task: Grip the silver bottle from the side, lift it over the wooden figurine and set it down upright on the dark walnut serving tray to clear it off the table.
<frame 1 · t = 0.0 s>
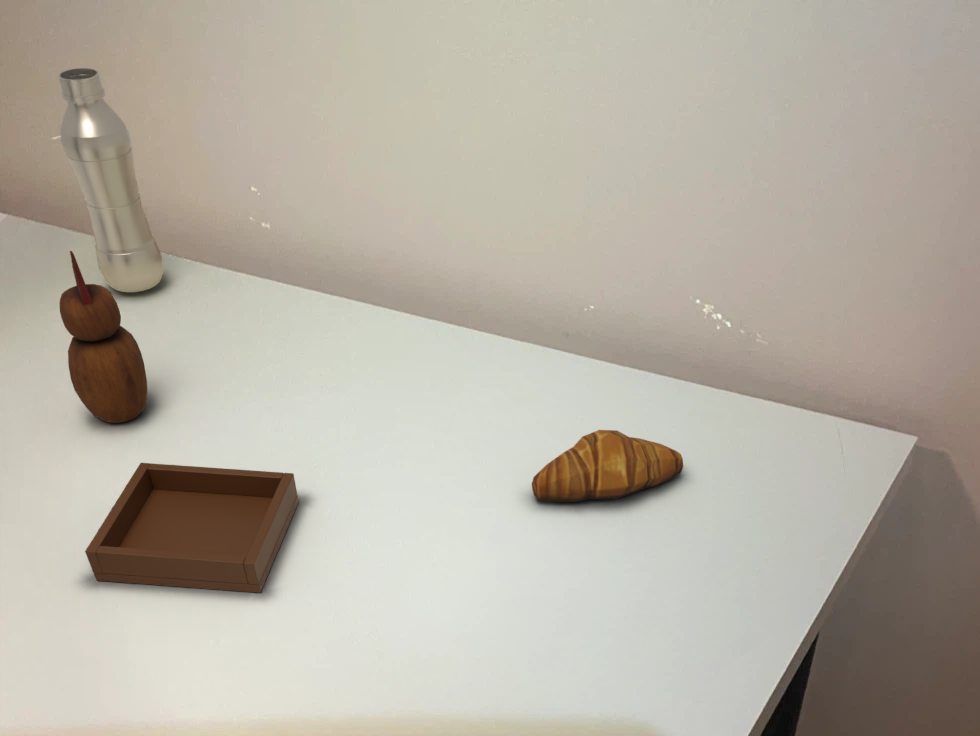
croissant: (606, 488, 86), on the table
silver bottle: (137, 288, 109), on the table
wooden figurine: (122, 413, 93), on the table
tray: (202, 539, 80), on the table
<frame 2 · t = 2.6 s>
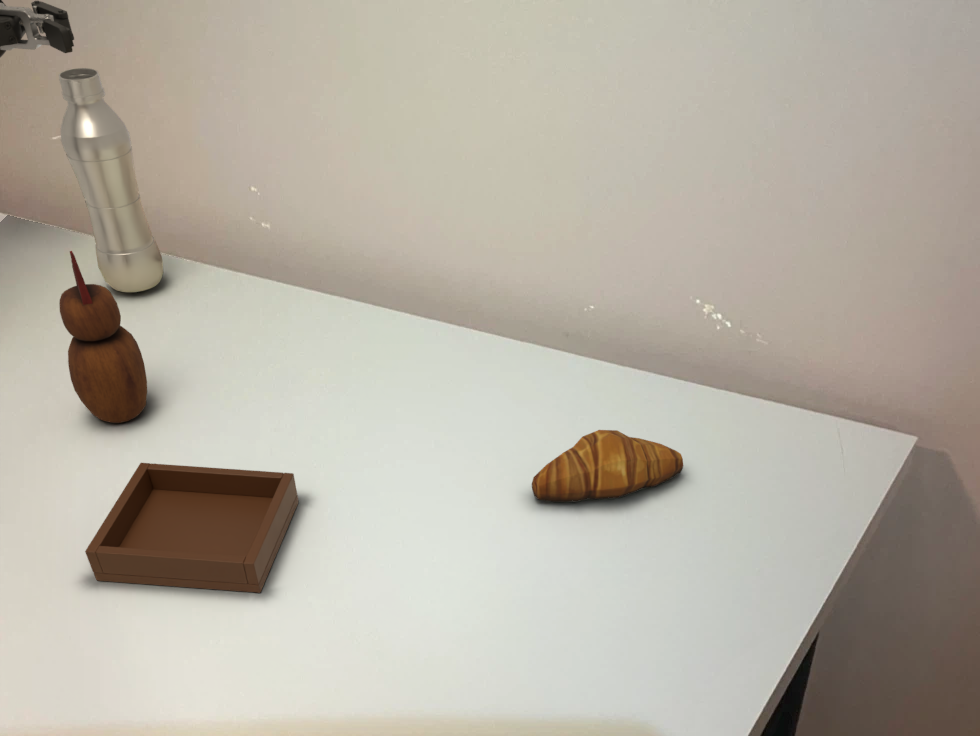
hand: (26, 48, 100), 20 cm above the table, tool horizontal, fingers open, 8 cm apart
nothing on the table moved.
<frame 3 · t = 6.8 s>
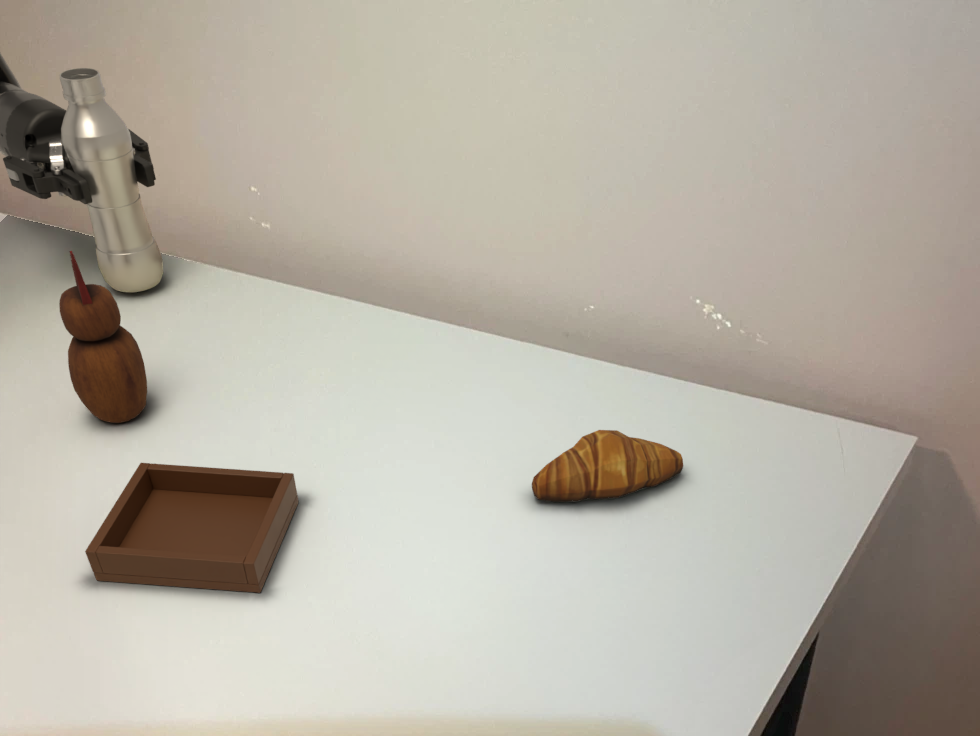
hand: (118, 184, 100), 11 cm above the table, tool horizontal, fingers closed on silver bottle, 6 cm apart
silver bottle: (137, 288, 109), on the table, touching gripper
everything else where it was.
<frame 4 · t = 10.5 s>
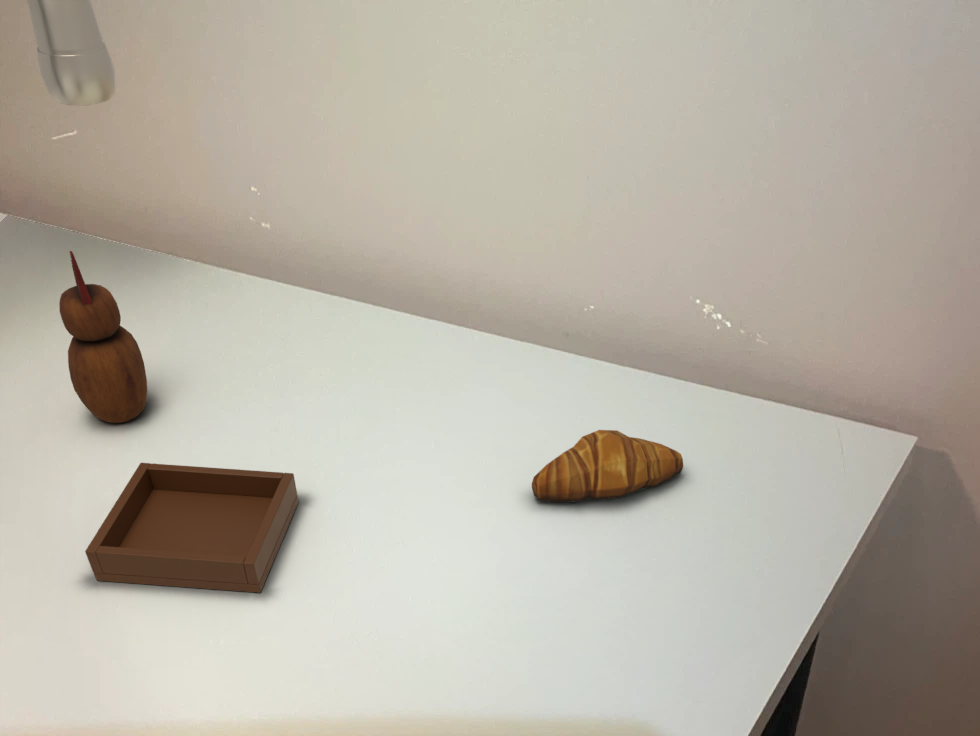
silver bottle: (86, 105, 97), point 17 cm above the table, touching gripper
everything else where it was.
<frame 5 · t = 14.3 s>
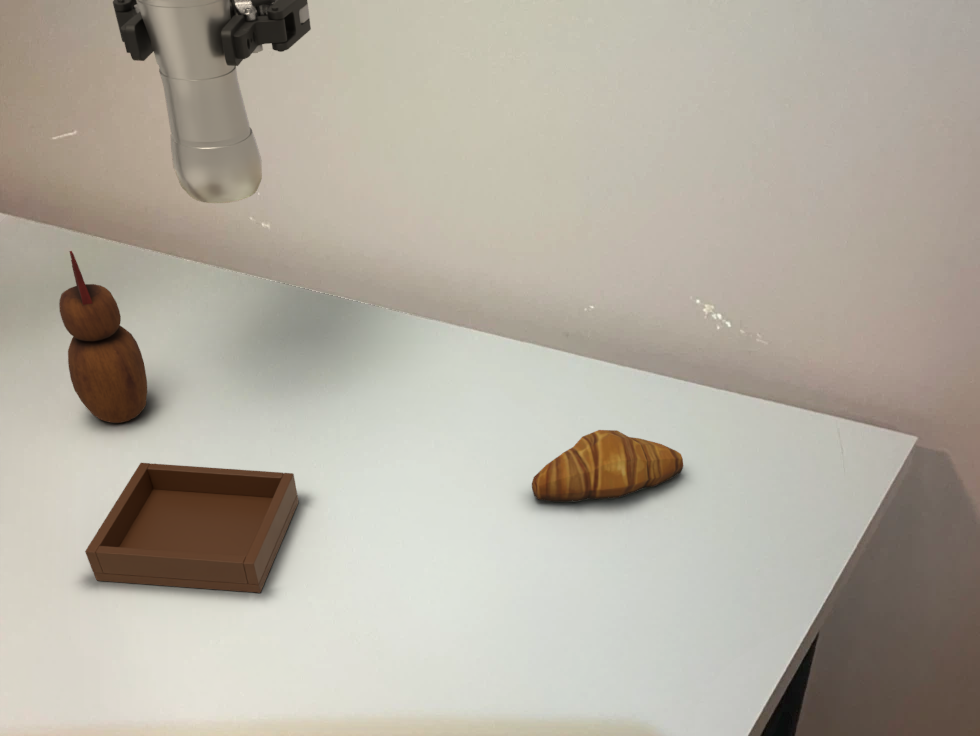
hand: (181, 46, 71), 29 cm above the table, tool horizontal, fingers closed on silver bottle, 6 cm apart
silver bottle: (224, 199, 81), point 18 cm above the table, touching gripper
everything else where it was.
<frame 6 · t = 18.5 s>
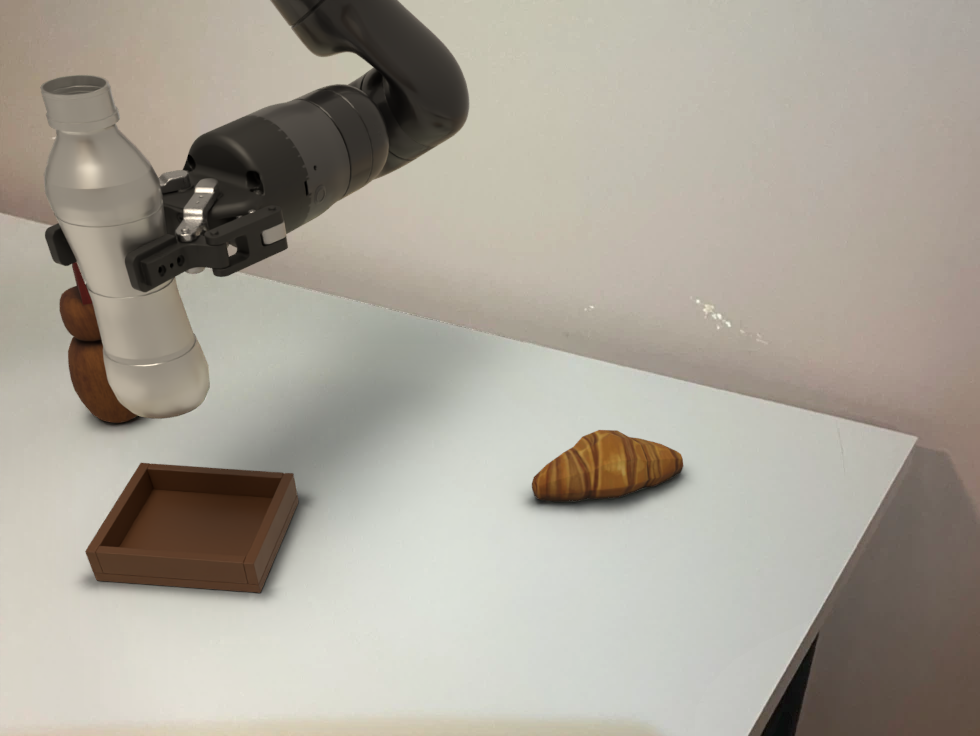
hand: (92, 262, 62), 23 cm above the table, tool horizontal, fingers closed on silver bottle, 6 cm apart
silver bottle: (168, 408, 72), point 11 cm above the table, touching gripper
everything else where it was.
when the fingers open (12 cm above the table, at t = 21.9 s): silver bottle stays where it is, resting on tray.
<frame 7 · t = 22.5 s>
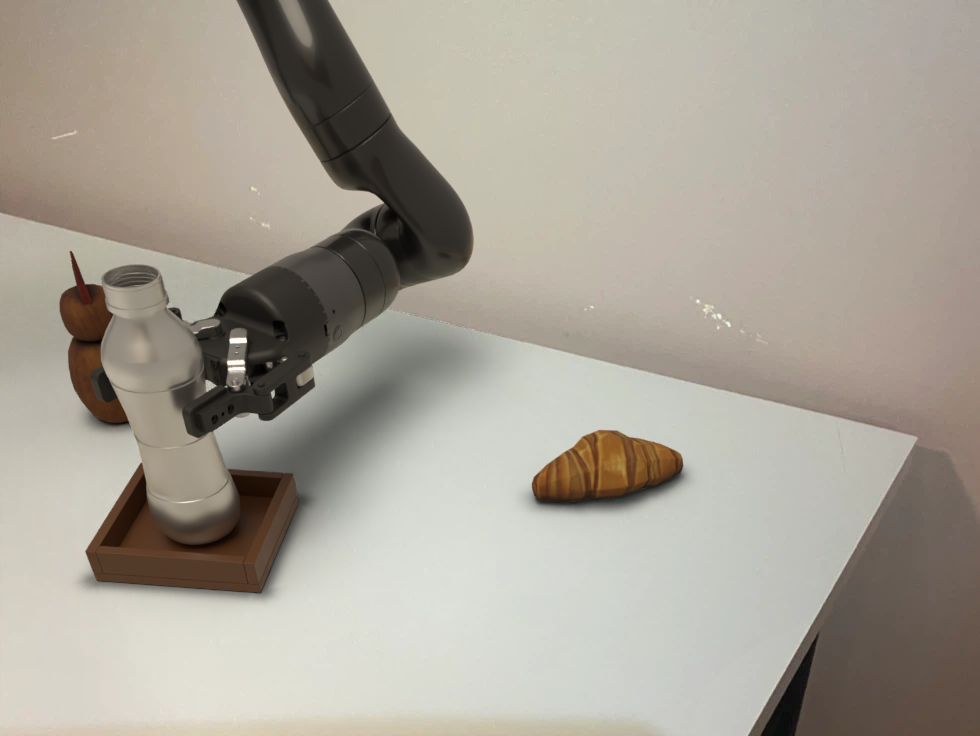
hand: (141, 406, 70), 13 cm above the table, tool horizontal, fingers open, 8 cm apart
silver bottle: (202, 532, 80), point 1 cm above the table, touching tray
everything else where it was.
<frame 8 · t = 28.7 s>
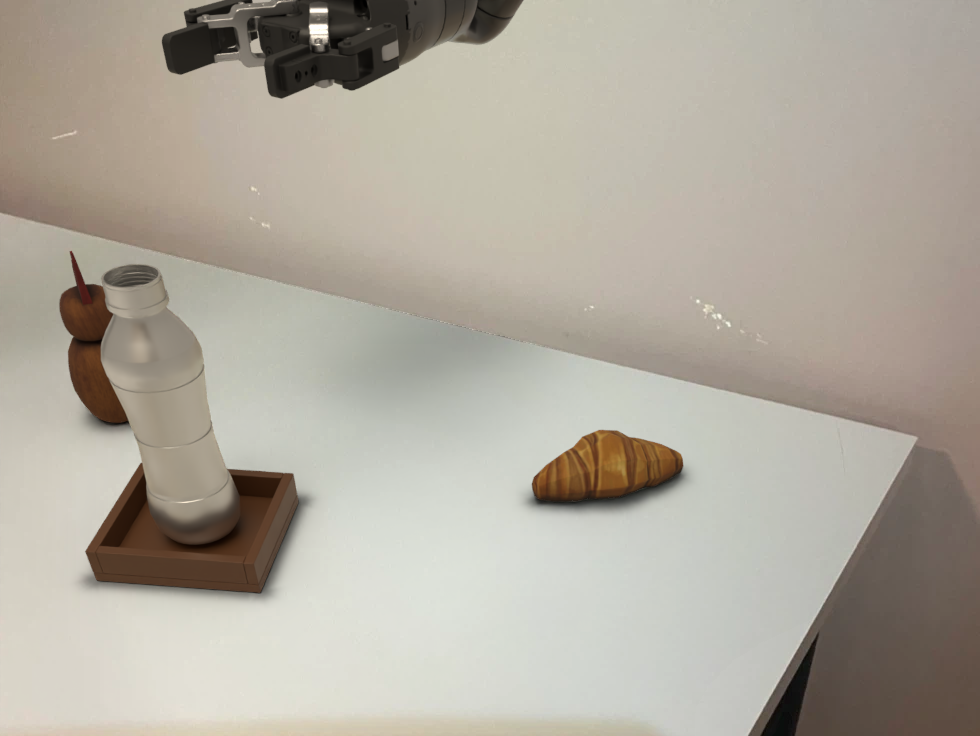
hand: (218, 67, 65), 30 cm above the table, tool horizontal, fingers open, 8 cm apart
nothing on the table moved.
at the end: silver bottle inside the target area in the tray (0.2 cm from its centre), point 0.6 cm above the tray's base; silver bottle tilted 0° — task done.
